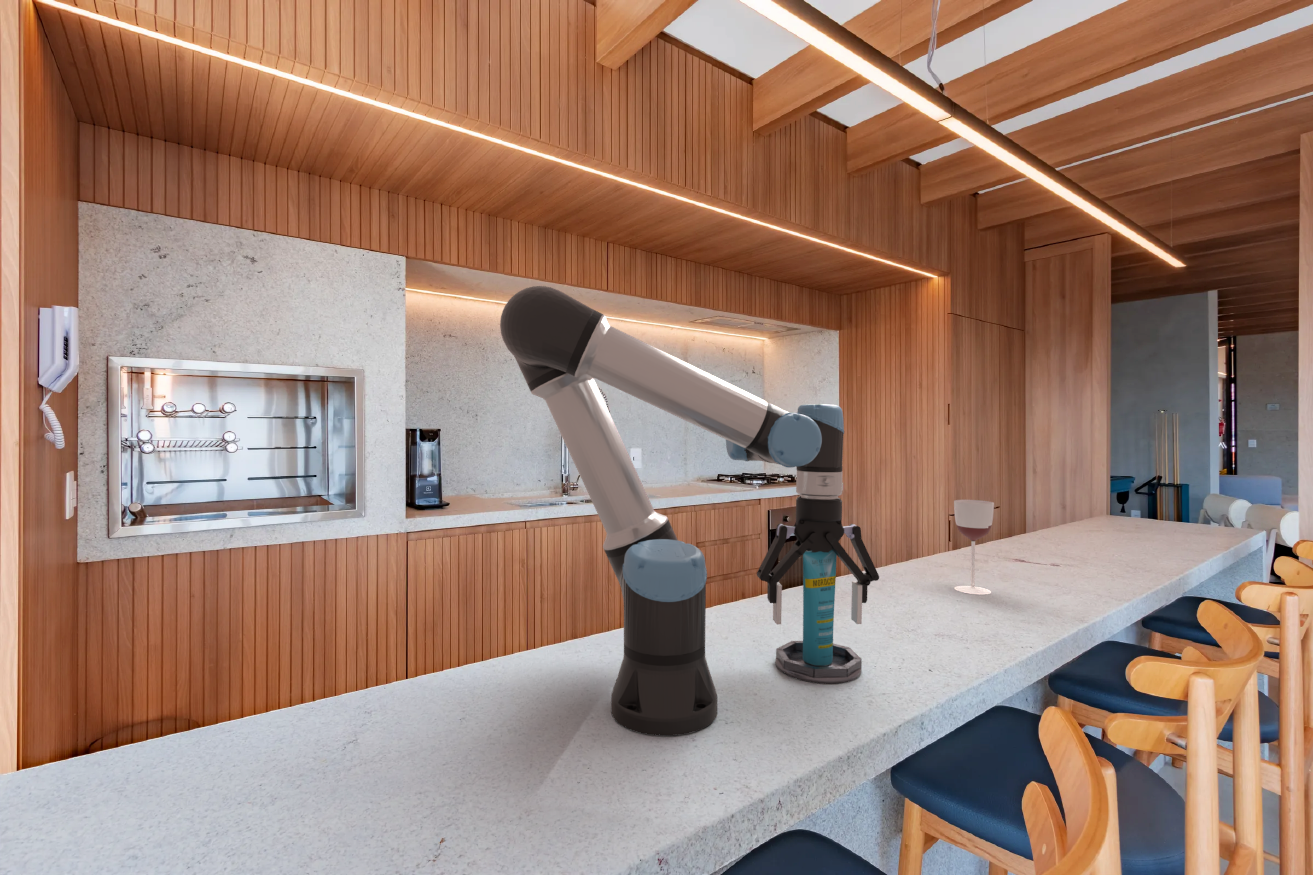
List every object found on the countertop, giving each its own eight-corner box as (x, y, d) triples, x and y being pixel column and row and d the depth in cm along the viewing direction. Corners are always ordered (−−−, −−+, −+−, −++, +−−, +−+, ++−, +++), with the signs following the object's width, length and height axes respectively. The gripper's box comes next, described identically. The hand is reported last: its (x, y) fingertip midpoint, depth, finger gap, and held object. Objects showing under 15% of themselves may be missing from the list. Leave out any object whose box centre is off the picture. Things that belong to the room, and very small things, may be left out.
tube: (813, 670, 101) (815, 553, 101) (791, 660, 105) (793, 548, 105) (843, 661, 106) (845, 548, 105) (821, 652, 110) (823, 543, 109)
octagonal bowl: (787, 684, 98) (788, 670, 98) (767, 652, 112) (767, 640, 112) (875, 683, 99) (875, 669, 98) (843, 651, 112) (844, 638, 112)
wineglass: (960, 594, 151) (961, 503, 150) (948, 584, 160) (949, 499, 160) (998, 596, 149) (1000, 504, 149) (984, 585, 159) (985, 500, 158)
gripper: (750, 498, 100) (748, 629, 101) (901, 499, 102) (898, 628, 102) (741, 493, 108) (739, 615, 108) (882, 494, 109) (880, 614, 109)
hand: (816, 621), depth 105 cm, fingers open, 13 cm apart
